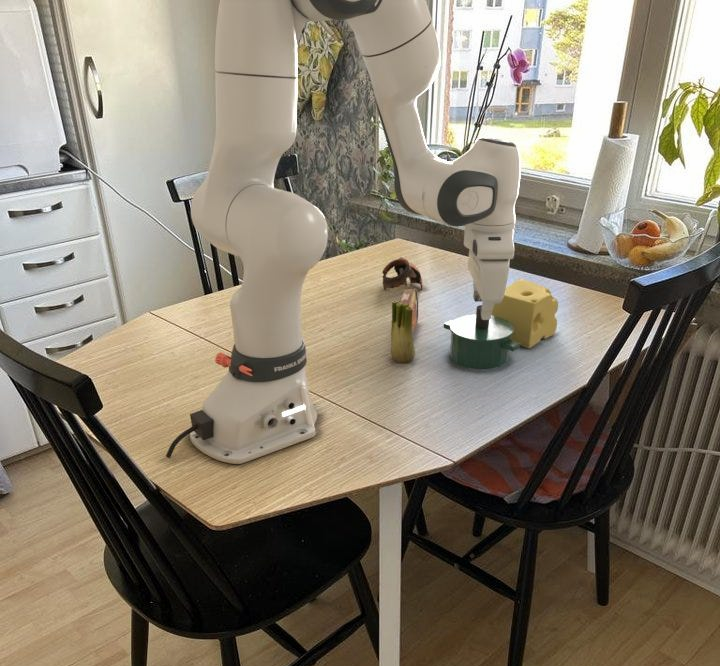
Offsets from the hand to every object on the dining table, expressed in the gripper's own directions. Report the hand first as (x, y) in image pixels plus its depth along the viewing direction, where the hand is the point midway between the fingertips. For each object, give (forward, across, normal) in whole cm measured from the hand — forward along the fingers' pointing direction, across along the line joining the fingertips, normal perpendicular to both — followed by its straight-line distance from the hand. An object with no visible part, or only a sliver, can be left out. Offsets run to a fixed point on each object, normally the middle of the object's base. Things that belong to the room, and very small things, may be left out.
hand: (481, 309), depth 137 cm
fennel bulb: (+11, 0, -15) cm, 18 cm away
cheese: (+10, -11, +11) cm, 19 cm away
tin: (+11, -14, -13) cm, 22 cm away
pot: (+11, 0, 0) cm, 11 cm away
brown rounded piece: (+10, -41, -12) cm, 44 cm away
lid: (+4, 0, 0) cm, 4 cm away
